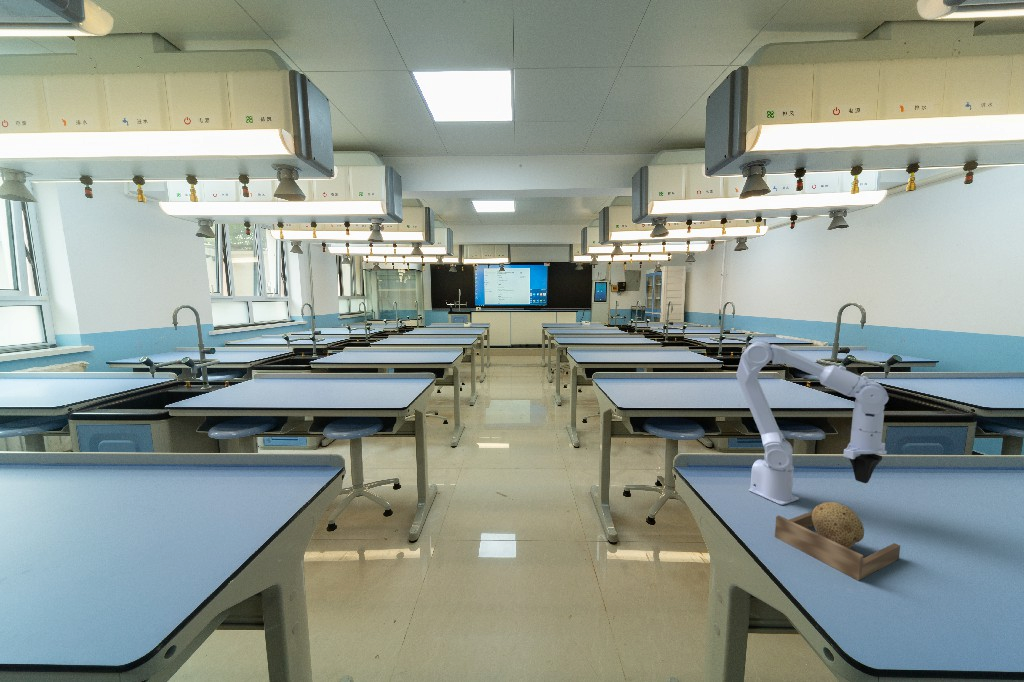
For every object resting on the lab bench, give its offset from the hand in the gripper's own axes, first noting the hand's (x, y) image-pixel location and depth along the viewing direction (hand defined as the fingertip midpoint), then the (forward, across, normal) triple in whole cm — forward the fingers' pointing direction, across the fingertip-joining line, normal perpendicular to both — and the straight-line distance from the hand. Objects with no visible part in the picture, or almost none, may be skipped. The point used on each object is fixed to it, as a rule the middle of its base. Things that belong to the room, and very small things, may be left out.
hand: (861, 481), depth 99 cm
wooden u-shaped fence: (+9, -20, -5) cm, 23 cm away
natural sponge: (+10, -20, -5) cm, 23 cm away
